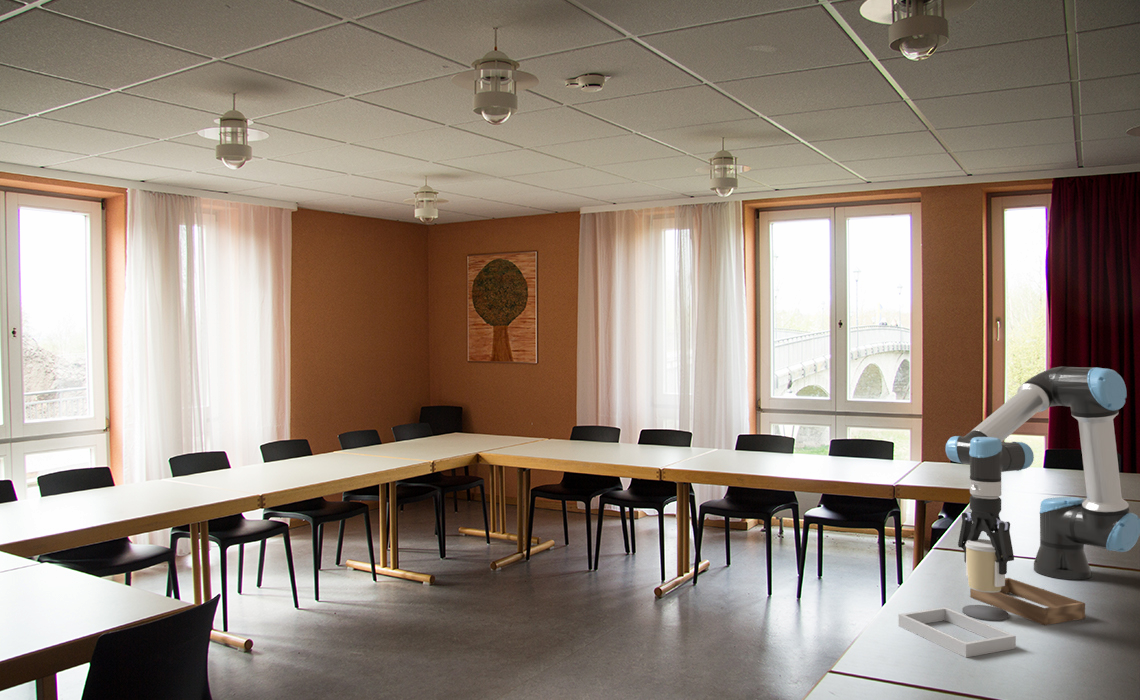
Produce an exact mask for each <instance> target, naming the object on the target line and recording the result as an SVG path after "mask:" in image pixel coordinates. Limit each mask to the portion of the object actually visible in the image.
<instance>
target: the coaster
mask: <svg viewBox="0 0 1140 700" xmlns="http://www.w3.org/2000/svg"><path fill="white" fill-rule="evenodd" d="M962 614H963V615H965V614H966V616H968V617H970V618H973V619H975V620H979V621H980V620H981V621H989V622H1000V621H1001V622H1002V621H1006V620H1008V619H1009V617H1010V615H1009V612H1008V611H1005V610H1003V609H1000V608H997V607H995V606H992V605H985V604H969V605H965V606H963V607H962Z"/></svg>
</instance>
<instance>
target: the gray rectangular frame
mask: <svg viewBox="0 0 1140 700" xmlns="http://www.w3.org/2000/svg"><path fill="white" fill-rule="evenodd" d="M943 620H944V621H946V622H948V623H949V624H952V625H955V626H957V627H959V628H962V629H965V630H967V631H970V632H972V633H974V634H975V635H976V634H977V635H979V636H981V637H983V638H984V639H979V640H977V639H976V640H971V641H964V640H961V639H960V638H958V637H957V638H956V637H955V636H952V635H950V634H948V633H945V632H943V631H941V630H938V629H937V628H934V627H932V626H930V625H928V624H930V623H936V622H942V621H943ZM898 627H900V628H902V629H904V630H906V631H908V630H909V631H908V632H910V633H912V634H915V635H917V634H918V635H917V636H919V637H921V638H923V637H924V638H923V639H925V638H926V639H925V640H928V641H930V642H932V643H934V644H936V645H938V646H940V647H942V648H945V649H947V650H949V651H951V652H954V653H956V654H958V655H959V656H962V657H964V658H970V657H971V658H972V657H976V656H981V655H986V654H993V653H998V652H1003V651H1004V652H1005V651H1009V650H1016V644H1017V643H1016V641H1017V640H1016V637H1017V636H1016V635H1015V634H1012V633H1010V632H1007V631H1004V630H1002V629H1000V628H997V627H995V626H992V625H989V624H987V623H985V622H983V621H980V620H979V619H976V618H972V617H969V616H967V615H965V614H964V613H961V612H958V611H956V610H953V609H950V608H948V607H945V606H944V607H936V608H932V609H926V610H925V609H923V610H919V611H911V612H904V613H899V614H898Z"/></svg>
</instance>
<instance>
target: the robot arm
mask: <svg viewBox="0 0 1140 700" xmlns="http://www.w3.org/2000/svg"><path fill="white" fill-rule="evenodd" d="M1016 391H1017V392H1016V393H1015V394H1014V395H1013V396H1012V397H1011V398H1009V399H1008V400H1006V402H1004V403H1003V404H1002V405H1001V406H999V407H998V408H997V409H996V410H995V411H993V412H992V413H991V414H990V415H989V416H987V417H986V418H985V419H984V420H982V422H980V423H979V424H978V425H977V426H976V427H975V426H974V428H973V429H972V430H970V431H969V432H967V434H966V435H964V436H962V435H954V436H951V437H949V438H948V440H947V442H946V443H945V454H946V457H947V458H948V459H949V460H950V461H951V462H955V463H960V464H961V465H969V493H970V496H969V510H970V511H966V512H962V513H961V521H962V522H961V525H960V532H959V538H958V541H957V546H958V548H961V549H963V552H964V553H963V554H964V555H963V556H964V563H965V577H967V578H968V570H967V555H966V546H965V544H966V543H967V541H968V540H970V541H974V540H978V539H980V536H981V534H982V532H983V533H986V535H987V537H989V540H990V541H991V543H992V546H993V547H995V550H996V552H995V555H996V558H997V560H996V561H995V587H1001V586H1005V578H1006V575H1007V573H1008V570H1007V569H1008V562H1012V561H1014V560H1015V556H1014V551H1013V544H1012V538H1011V533H1010V530H1011V523H1010V521H1003V520H1001V518H1000V513H1001V512H1002V498H1001V496H1002V473H1004V472H1015V471H1016V472H1018V471H1019V472H1020V471H1022V470H1025V469H1027V468H1030V467H1031V466H1032V464H1033V462H1034V458H1035V457H1034V451H1033V449H1032V448H1031V447H1030V446H1029V445H1028V444H1027V443H1025V442H1022V441H1011V442H1006V441H1005V440H1006V439H1007V438H1008V437H1009V436H1011V435H1012V434H1014V432H1015V431H1017V430H1018V429H1019V428H1020V427H1021V426H1023V425H1024V424H1025V423H1026V422H1027V421H1028V420H1030V419H1031V418H1032V417H1033V416H1035V414H1037V413H1041V412H1044V411H1046V410H1047V409H1048V408H1050V407H1056V406H1057V407H1058V406H1063V407H1070V413H1071V416H1072V417H1073V418H1074V419H1076V420H1077V422H1078V430H1079V438H1080V439H1079V441H1080V448H1081V454H1082V456H1081V457H1082V466H1083V475H1084V482H1085V490H1086V491H1085V492H1086V498H1085V499H1083V498H1080V497H1073V496H1071V497H1064V496H1061V497H1049V498H1045V499H1043V500H1042V501H1041V502H1040V506H1039V508H1040V509H1039V541H1040V542H1039V548H1038V551H1037V553H1036V556H1035V559H1034V561H1033V571H1034V572H1036V573H1037V574H1039V575H1043V576H1046V577H1048V578H1049V577H1051V578H1056V579H1063V580H1077V581H1078V580H1086V579H1089V578H1090V577H1091V567H1090V564H1089V561H1088V558H1087V555H1086V552H1085V546H1090V547H1094V548H1097V549H1098V548H1099V549H1103V550H1107V551H1110V552H1112V551H1114V552H1118V553H1124V552H1125V553H1126V552H1128V551H1130V550H1132V549H1133V547H1134V546H1135V545H1136V544H1137V543H1138V540H1139V537H1140V517H1139V516H1138V515H1137V514H1136V513H1134V512H1130V504H1129V502H1127V500H1125V499H1123V495H1122V489H1121V479H1120V478H1121V477H1120V470H1119V461H1118V451H1117V442H1116V434H1115V425H1114V424H1115V423H1114V419H1115V418H1116V416H1118V415H1119V412H1120V411H1119V410H1120V409H1121V408H1123V407H1124V405H1125V404H1126V399H1127V396H1128V395H1127V387H1126V384H1125V381H1124V378H1123V377H1122V376H1121V375H1120V374H1119V373H1118V372H1117V371H1116V370H1114V369H1110V368H1102V367H1093V366H1092V367H1090V366H1089V367H1086V366H1085V367H1083V366H1082V367H1078V366H1057V367H1051V368H1049V369H1047V370H1044V371H1041V372H1040V373H1038V374H1036V375H1034V376H1033V377H1031V378H1029V379H1028V380H1026V381H1025V382H1023V383H1022V384H1021V385H1019V387H1018V388H1017V390H1016ZM1001 556H1002V557H1001Z"/></svg>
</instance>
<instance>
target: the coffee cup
mask: <svg viewBox="0 0 1140 700" xmlns="http://www.w3.org/2000/svg"><path fill="white" fill-rule="evenodd" d="M965 546H966V555H967V570H968V577H967V580H968V587H969V588H971V589H973V590H976V591H981V592H989V593H995V592H1000V591H1001V587H995V561H996V560H997V558H996V555H995V552H996V550H995V547H993V546H992V543H991V541H990V539H986V538H985V539H982V538H978V540H974V541H970V540H968V541H967V543H966V544H965ZM1001 557H1002V556H1001Z"/></svg>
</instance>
